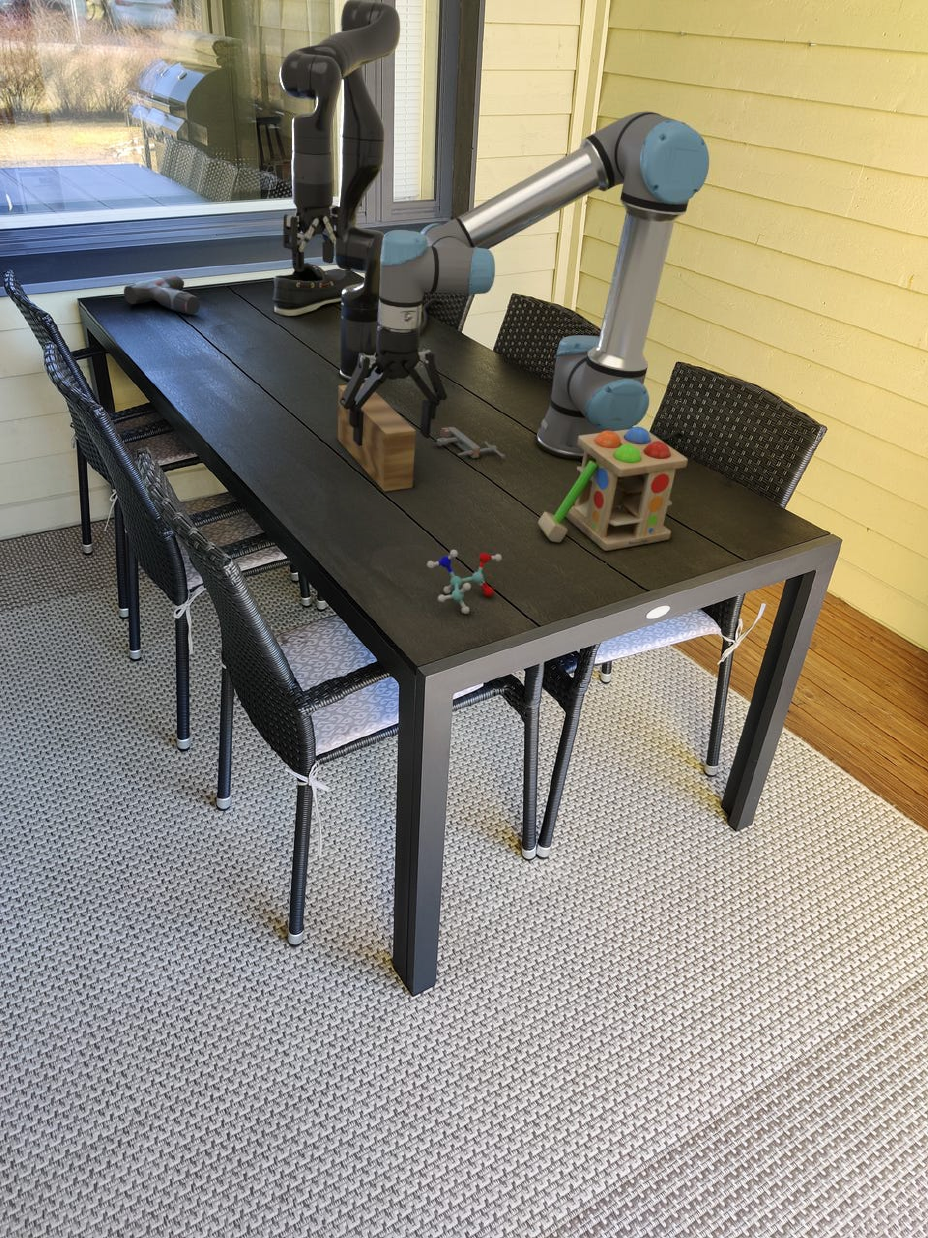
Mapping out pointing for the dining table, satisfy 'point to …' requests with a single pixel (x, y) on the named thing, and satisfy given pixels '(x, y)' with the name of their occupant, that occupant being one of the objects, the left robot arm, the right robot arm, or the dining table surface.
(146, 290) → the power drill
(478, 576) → the molecular model
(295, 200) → the left robot arm
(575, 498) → the pounding bench toy
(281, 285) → the boat shoe
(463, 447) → the clamp
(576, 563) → the dining table surface
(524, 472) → the dining table surface
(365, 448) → the box
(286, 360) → the dining table surface
